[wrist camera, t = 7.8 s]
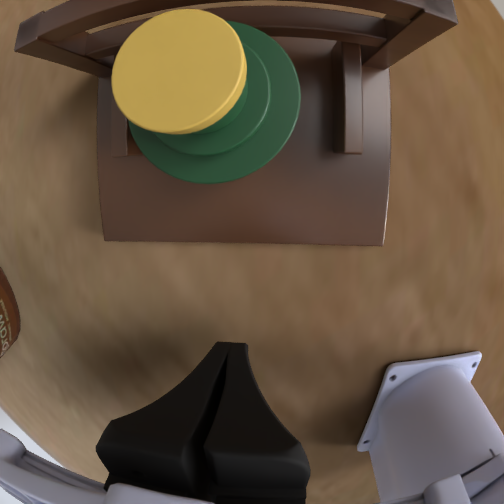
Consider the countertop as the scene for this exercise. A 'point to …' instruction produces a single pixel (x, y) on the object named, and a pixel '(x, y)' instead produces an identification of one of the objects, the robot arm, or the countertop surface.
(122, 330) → the countertop surface
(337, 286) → the countertop surface
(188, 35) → the bottle
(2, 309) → the food container
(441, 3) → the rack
